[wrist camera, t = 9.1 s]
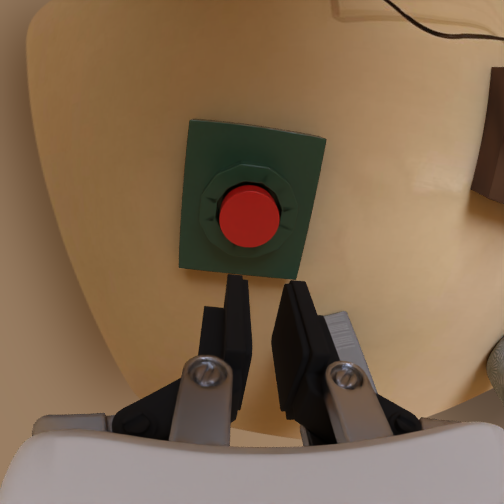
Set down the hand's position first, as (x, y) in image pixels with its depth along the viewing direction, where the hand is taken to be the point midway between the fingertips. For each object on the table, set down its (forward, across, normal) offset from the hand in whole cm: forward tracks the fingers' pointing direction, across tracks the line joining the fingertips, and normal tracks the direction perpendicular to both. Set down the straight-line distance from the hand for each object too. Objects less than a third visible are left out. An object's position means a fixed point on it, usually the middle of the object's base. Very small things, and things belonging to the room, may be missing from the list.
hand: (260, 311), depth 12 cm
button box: (+15, 0, 0) cm, 15 cm away
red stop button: (+12, 0, 0) cm, 12 cm away
